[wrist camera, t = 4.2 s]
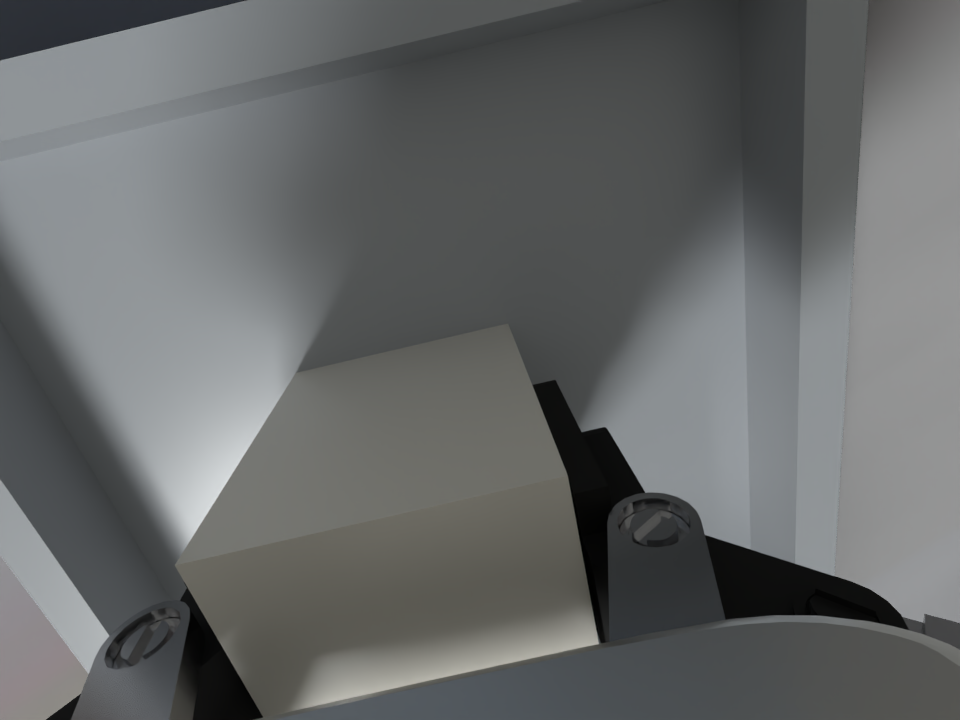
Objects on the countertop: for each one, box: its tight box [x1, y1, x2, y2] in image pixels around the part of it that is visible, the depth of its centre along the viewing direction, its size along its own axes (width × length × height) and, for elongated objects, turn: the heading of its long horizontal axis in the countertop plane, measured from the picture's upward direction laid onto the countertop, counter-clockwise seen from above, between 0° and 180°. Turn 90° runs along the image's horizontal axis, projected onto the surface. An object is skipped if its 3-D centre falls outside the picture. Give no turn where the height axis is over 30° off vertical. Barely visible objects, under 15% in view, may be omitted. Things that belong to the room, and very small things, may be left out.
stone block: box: [175, 324, 599, 717], centre depth 10 cm, size 5×5×6 cm
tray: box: [0, 0, 869, 674], centre depth 13 cm, size 18×18×3 cm
